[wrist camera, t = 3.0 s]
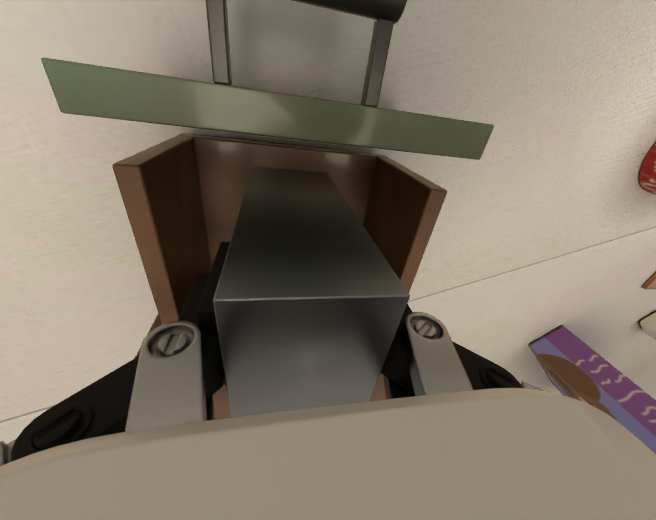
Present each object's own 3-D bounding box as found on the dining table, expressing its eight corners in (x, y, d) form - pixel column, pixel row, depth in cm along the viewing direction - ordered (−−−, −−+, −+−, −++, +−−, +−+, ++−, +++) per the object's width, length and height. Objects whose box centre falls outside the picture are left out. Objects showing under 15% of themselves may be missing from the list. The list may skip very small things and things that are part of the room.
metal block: (252, 166, 15) (212, 300, 5) (328, 173, 16) (411, 295, 6) (254, 248, 18) (232, 430, 8) (318, 249, 18) (365, 413, 9)
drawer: (135, -50, 10) (-90, -281, 4) (426, 19, 13) (568, -49, 7) (199, 297, 20) (165, 391, 14) (358, 294, 23) (391, 370, 17)
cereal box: (528, 344, 35) (852, 663, 15) (561, 324, 34) (959, 644, 14) (552, 383, 44) (777, 618, 24) (579, 369, 43) (839, 604, 23)
